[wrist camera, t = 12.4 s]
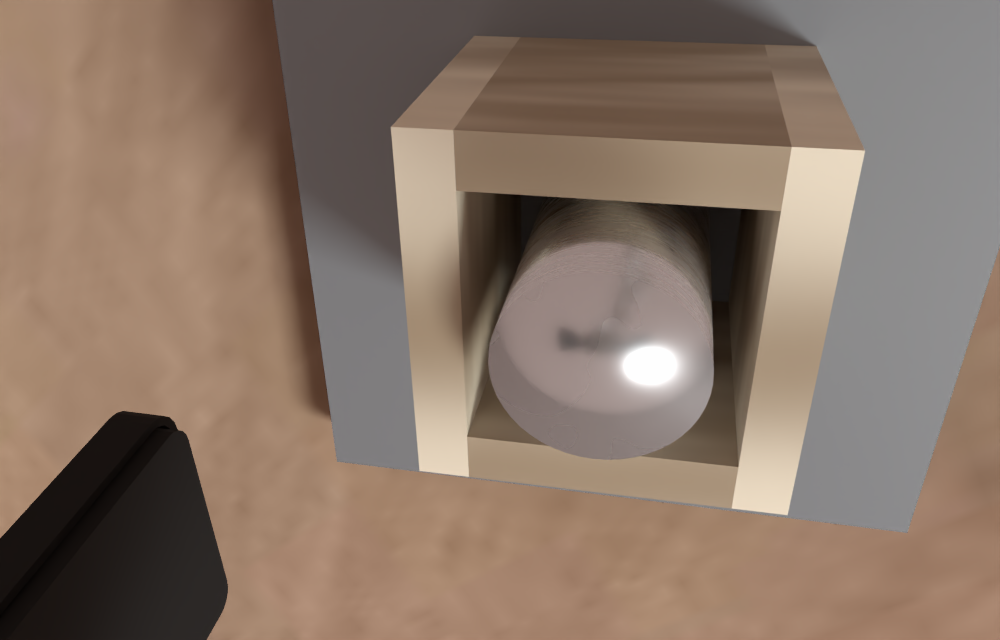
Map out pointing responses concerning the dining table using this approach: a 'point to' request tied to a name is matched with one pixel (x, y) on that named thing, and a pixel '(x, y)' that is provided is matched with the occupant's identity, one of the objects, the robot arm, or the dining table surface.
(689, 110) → the birch collar
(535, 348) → the grey cylinder
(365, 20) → the grey board
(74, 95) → the dining table surface
